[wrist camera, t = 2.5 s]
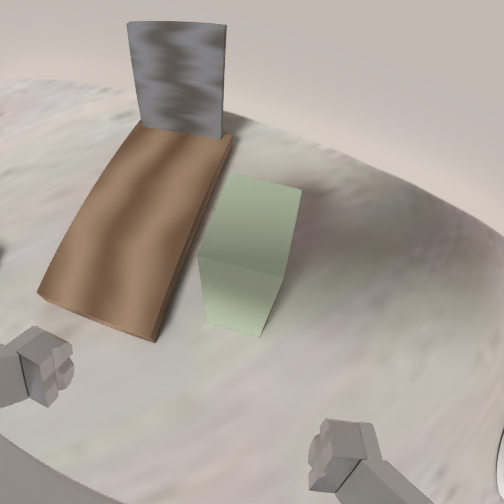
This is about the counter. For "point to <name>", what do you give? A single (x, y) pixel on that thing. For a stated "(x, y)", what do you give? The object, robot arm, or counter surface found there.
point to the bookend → (149, 184)
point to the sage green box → (247, 252)
